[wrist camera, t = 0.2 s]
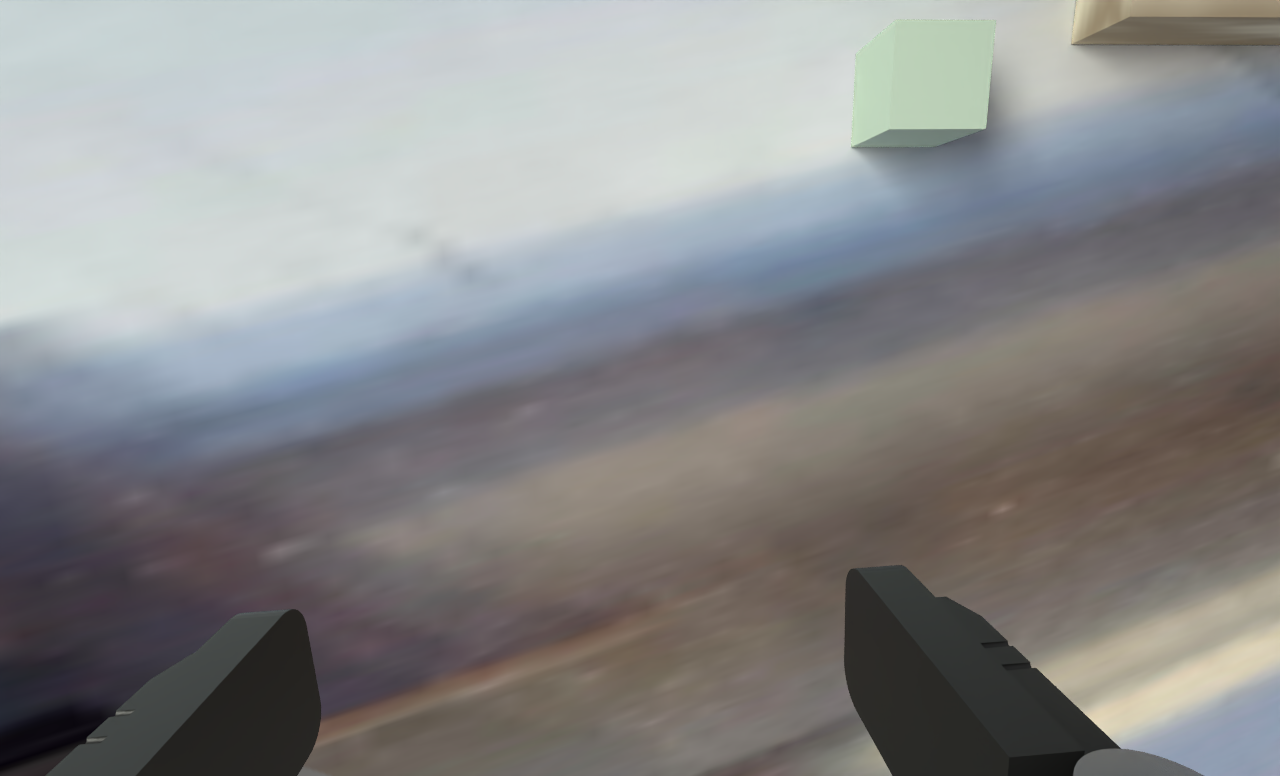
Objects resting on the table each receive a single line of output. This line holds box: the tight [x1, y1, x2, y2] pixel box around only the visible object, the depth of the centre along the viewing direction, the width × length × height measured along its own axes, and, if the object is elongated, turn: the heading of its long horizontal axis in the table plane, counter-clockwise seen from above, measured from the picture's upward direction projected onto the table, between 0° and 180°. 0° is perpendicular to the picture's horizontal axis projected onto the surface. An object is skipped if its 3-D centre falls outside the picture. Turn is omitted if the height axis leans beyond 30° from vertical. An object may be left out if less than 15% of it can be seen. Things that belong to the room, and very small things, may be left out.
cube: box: [851, 20, 996, 147], centre depth 33 cm, size 5×5×5 cm
